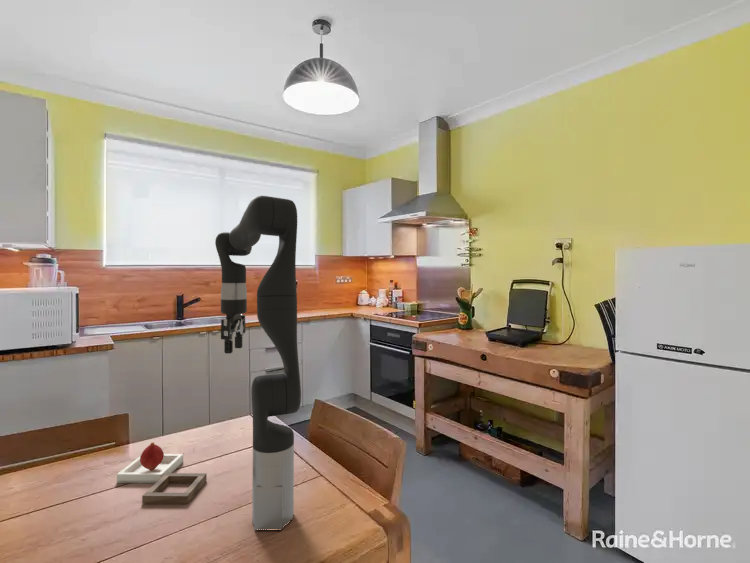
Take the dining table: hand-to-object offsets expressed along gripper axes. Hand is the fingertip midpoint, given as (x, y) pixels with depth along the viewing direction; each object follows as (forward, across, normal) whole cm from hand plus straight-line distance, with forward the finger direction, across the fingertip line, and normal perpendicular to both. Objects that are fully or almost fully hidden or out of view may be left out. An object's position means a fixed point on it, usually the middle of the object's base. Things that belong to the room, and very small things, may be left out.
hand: (233, 350), depth 120 cm
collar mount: (+33, -19, +8) cm, 39 cm away
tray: (+33, -9, +20) cm, 40 cm away
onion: (+33, -9, +20) cm, 39 cm away
